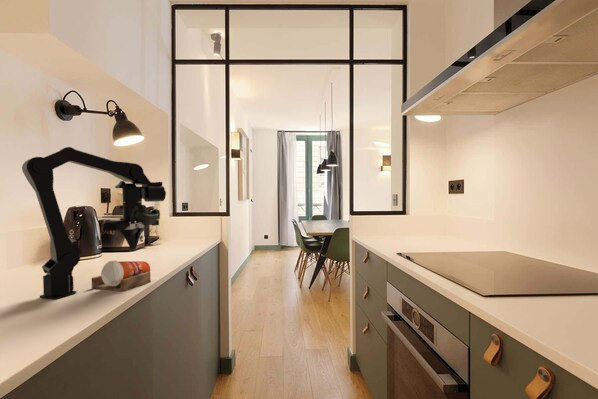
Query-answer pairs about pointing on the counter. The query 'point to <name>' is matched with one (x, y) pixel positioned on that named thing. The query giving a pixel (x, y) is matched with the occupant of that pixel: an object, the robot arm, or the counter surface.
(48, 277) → the robot arm
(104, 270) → the paper cup
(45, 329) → the counter surface
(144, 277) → the u rest
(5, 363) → the counter surface
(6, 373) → the counter surface
